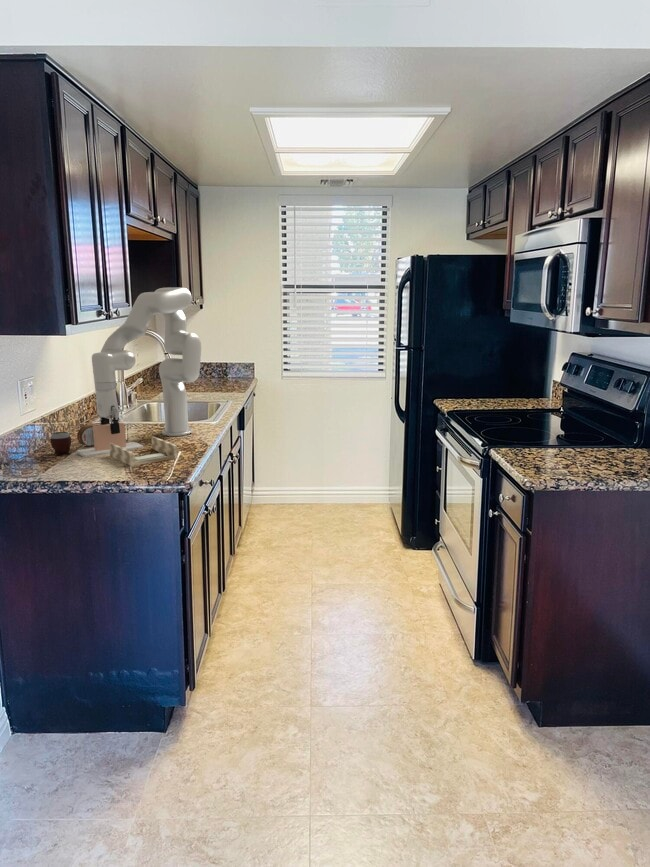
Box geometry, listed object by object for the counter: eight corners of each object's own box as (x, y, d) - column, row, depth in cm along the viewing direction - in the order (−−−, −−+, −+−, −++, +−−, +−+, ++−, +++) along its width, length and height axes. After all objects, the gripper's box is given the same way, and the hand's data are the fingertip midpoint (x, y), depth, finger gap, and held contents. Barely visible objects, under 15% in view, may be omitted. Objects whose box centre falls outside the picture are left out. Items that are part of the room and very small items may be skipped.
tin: (112, 440, 250) (110, 420, 248) (116, 441, 248) (115, 421, 246) (77, 447, 239) (75, 426, 237) (82, 448, 237) (79, 427, 235)
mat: (77, 453, 229) (76, 450, 229) (134, 444, 243) (134, 441, 243) (85, 457, 222) (85, 455, 222) (143, 448, 236) (143, 445, 236)
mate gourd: (76, 452, 231) (72, 412, 228) (63, 457, 224) (59, 416, 220) (58, 451, 233) (54, 412, 229) (45, 456, 225) (40, 416, 222)
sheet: (94, 449, 230) (92, 426, 228) (123, 445, 237) (121, 422, 235) (97, 451, 228) (94, 427, 226) (126, 446, 235) (124, 423, 233)
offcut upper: (133, 460, 216) (133, 457, 216) (160, 456, 222) (160, 453, 222) (138, 463, 213) (137, 459, 213) (165, 458, 219) (165, 455, 219)
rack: (110, 456, 224) (109, 443, 223) (154, 449, 234) (153, 436, 233) (131, 467, 209) (130, 452, 208) (177, 458, 220) (176, 445, 219)
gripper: (87, 384, 232) (92, 429, 236) (104, 390, 219) (109, 437, 223) (107, 382, 236) (112, 426, 241) (124, 387, 223) (129, 433, 227)
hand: (110, 431), depth 232 cm, fingers open, 9 cm apart
